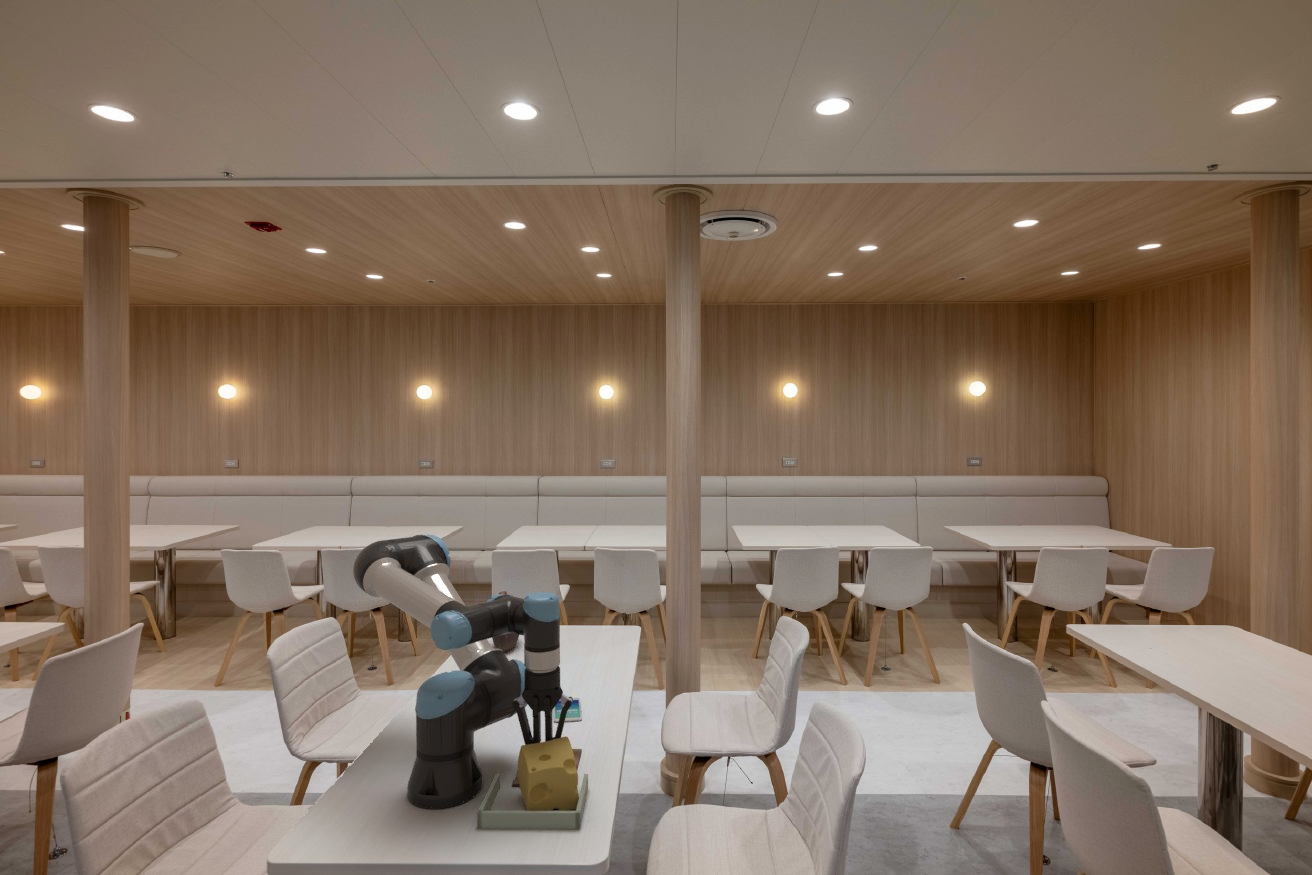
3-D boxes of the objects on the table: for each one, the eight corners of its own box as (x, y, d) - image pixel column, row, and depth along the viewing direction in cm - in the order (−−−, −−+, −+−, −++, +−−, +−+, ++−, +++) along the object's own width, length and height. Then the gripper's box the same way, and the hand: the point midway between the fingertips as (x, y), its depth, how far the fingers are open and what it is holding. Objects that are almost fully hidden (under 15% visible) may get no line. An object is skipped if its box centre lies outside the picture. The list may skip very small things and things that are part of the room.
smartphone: (553, 721, 176) (553, 698, 191) (553, 724, 176) (553, 701, 191) (582, 719, 177) (579, 697, 192) (582, 722, 177) (579, 700, 192)
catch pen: (579, 828, 129) (579, 812, 129) (477, 828, 129) (477, 812, 129) (588, 787, 144) (588, 773, 144) (496, 787, 144) (496, 773, 144)
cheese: (579, 809, 135) (580, 763, 134) (525, 820, 132) (526, 773, 130) (567, 777, 145) (568, 734, 144) (516, 787, 141) (517, 742, 140)
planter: (514, 638, 248) (514, 584, 248) (537, 649, 235) (536, 592, 235) (476, 646, 239) (476, 590, 239) (497, 658, 226) (497, 599, 226)
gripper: (574, 660, 148) (575, 767, 148) (515, 660, 148) (516, 767, 148) (570, 672, 140) (571, 785, 141) (508, 673, 140) (509, 786, 141)
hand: (543, 776), depth 144 cm, fingers closed
